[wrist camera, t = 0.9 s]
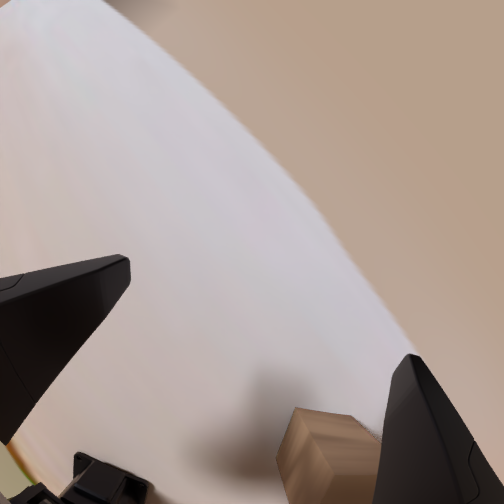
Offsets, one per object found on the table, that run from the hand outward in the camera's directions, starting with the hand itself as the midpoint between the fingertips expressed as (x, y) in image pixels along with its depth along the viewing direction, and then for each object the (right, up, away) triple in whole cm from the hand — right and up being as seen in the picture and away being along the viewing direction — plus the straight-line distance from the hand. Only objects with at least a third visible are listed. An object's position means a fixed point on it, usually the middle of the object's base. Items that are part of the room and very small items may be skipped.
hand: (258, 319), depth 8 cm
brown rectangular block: (+4, -12, +10) cm, 16 cm away
